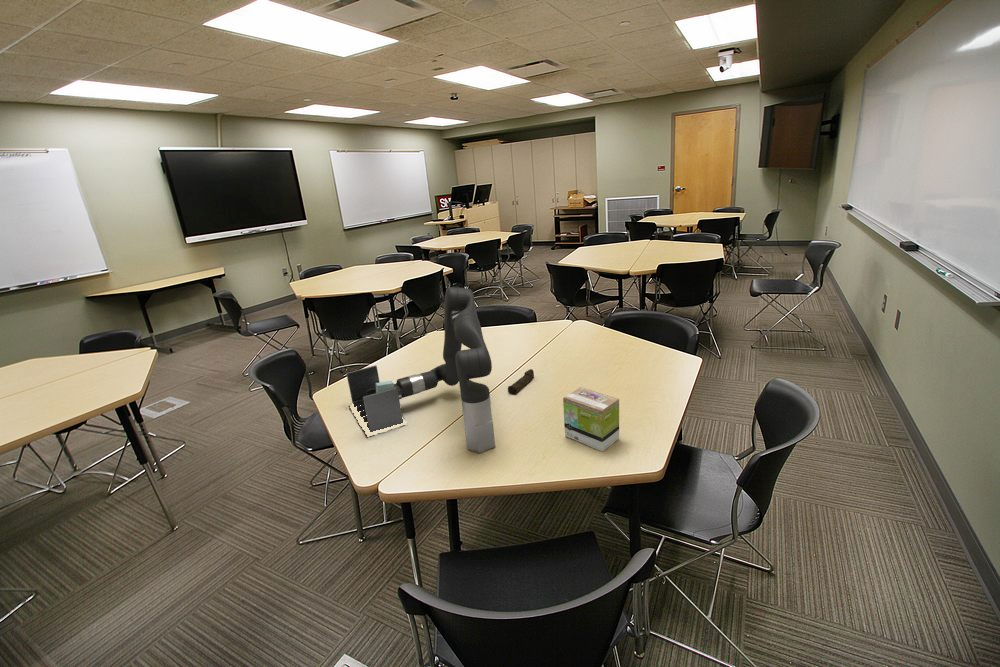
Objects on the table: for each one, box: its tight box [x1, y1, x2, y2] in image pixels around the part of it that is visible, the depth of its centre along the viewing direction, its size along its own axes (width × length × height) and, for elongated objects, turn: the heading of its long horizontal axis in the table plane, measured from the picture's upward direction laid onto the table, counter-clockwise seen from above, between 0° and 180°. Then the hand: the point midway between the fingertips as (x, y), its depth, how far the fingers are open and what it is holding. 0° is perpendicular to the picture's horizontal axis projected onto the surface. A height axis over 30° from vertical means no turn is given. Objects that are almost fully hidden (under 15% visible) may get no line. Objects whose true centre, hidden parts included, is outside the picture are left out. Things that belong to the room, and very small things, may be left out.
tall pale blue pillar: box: [376, 380, 395, 393], centre depth 175 cm, size 3×6×12 cm, turn 119°
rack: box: [345, 364, 403, 432], centre depth 175 cm, size 30×15×15 cm, turn 30°
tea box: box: [562, 386, 620, 452], centre depth 147 cm, size 15×10×15 cm
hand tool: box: [507, 368, 535, 396], centre depth 192 cm, size 19×4×5 cm, turn 146°
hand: (369, 397), depth 172 cm, fingers open, 8 cm apart
